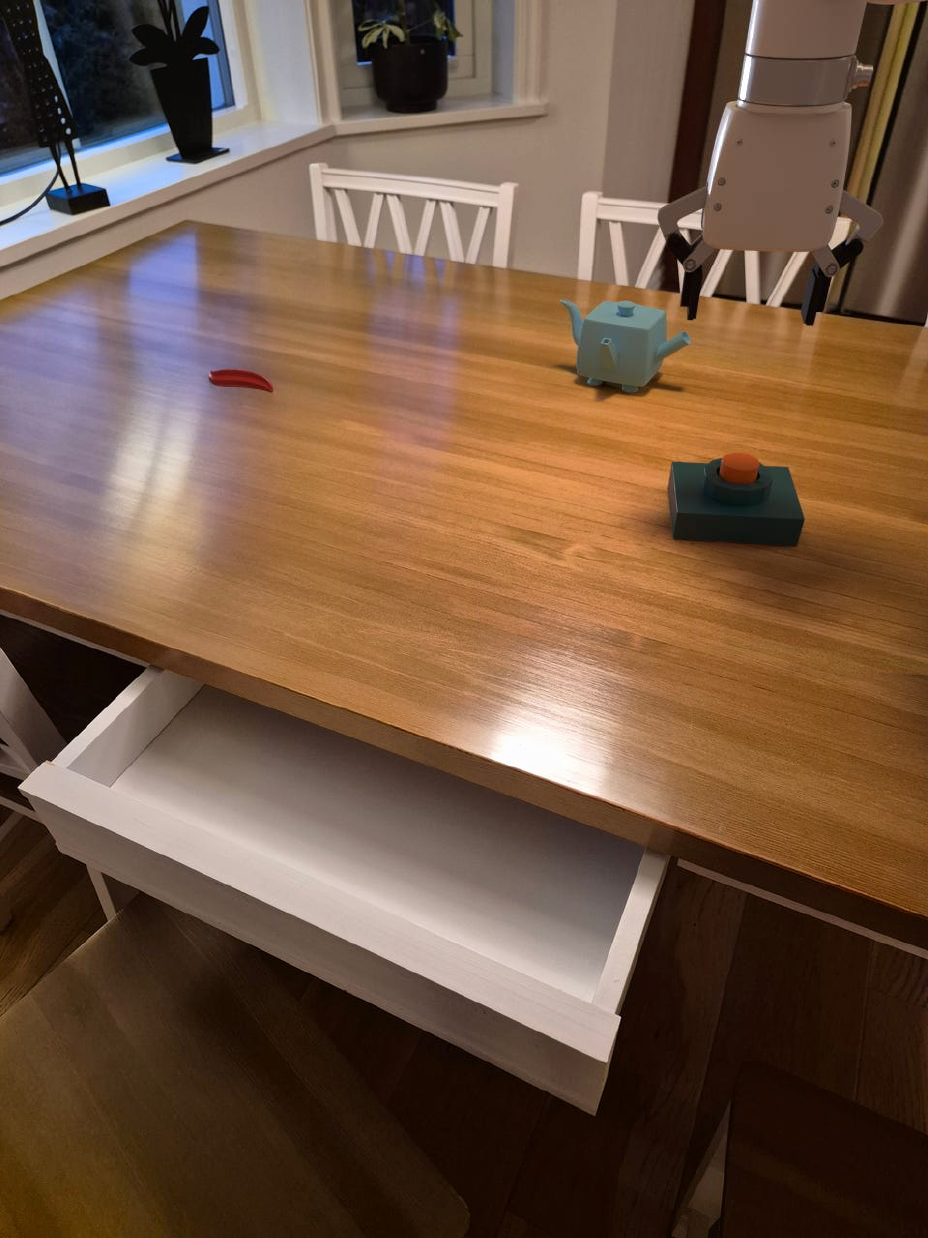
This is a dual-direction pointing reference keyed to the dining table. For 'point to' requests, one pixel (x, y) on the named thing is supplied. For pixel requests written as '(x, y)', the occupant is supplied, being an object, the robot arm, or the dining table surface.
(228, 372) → the cayenne pepper
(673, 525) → the teal box orange button
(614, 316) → the teapot
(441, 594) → the dining table surface
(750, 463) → the orange round cap
